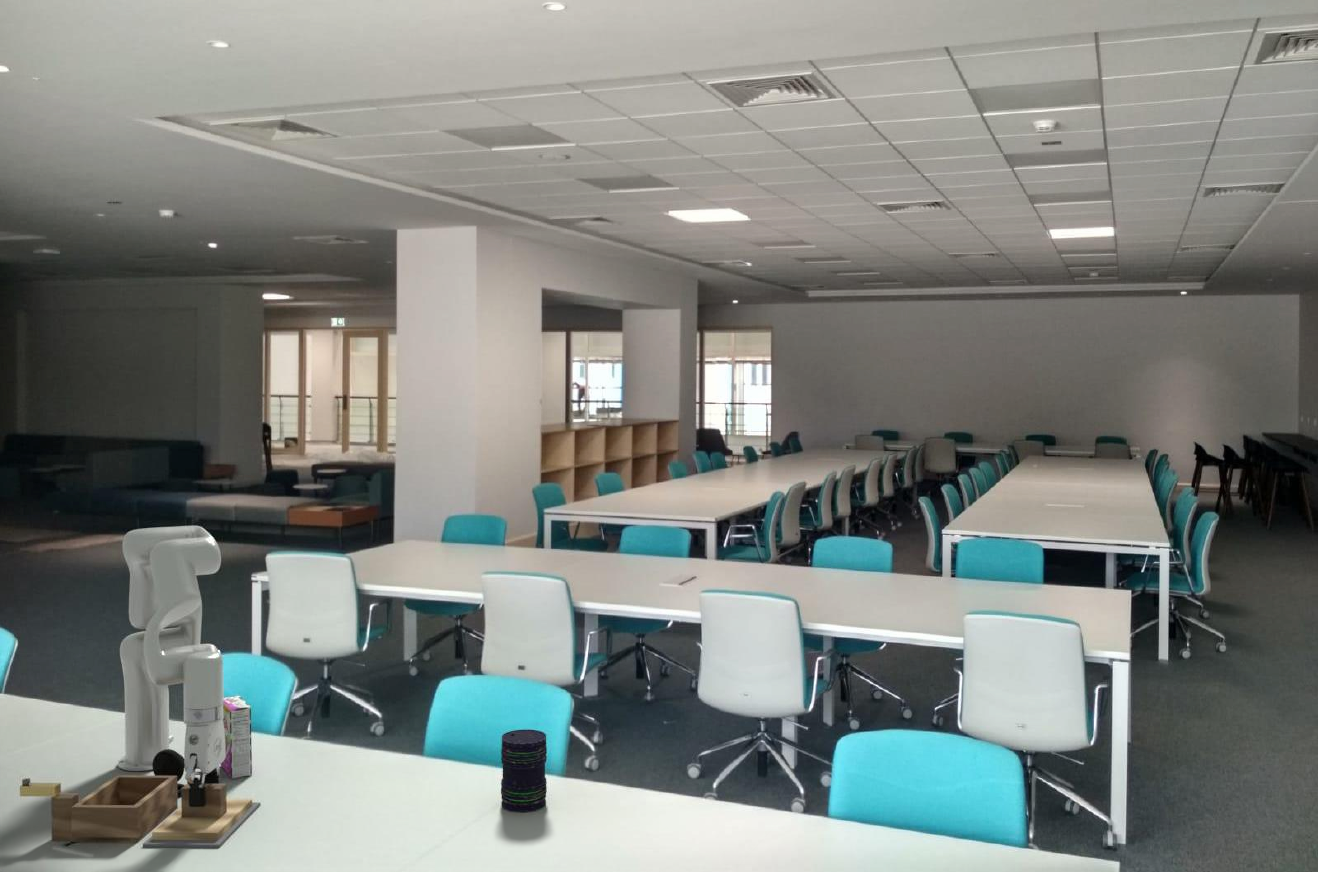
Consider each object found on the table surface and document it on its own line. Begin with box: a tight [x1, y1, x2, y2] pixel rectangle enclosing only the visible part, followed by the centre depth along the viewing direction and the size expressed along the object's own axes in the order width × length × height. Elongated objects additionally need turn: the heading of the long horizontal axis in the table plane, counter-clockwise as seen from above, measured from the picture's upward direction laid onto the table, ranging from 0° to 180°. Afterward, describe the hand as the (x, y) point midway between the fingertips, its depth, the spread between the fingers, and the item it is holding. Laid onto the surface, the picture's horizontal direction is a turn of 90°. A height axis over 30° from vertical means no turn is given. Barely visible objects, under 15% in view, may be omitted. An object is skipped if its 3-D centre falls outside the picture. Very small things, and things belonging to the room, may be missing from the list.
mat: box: [142, 801, 262, 849], centre depth 225 cm, size 22×15×1 cm
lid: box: [151, 782, 253, 840], centre depth 225 cm, size 18×13×8 cm
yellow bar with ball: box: [19, 777, 62, 798], centre depth 218 cm, size 2×7×3 cm, turn 90°
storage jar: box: [500, 729, 548, 814], centre depth 238 cm, size 10×10×15 cm
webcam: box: [152, 748, 186, 798], centre depth 242 cm, size 8×8×10 cm
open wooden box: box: [50, 774, 179, 844], centre depth 225 cm, size 18×17×8 cm
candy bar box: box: [220, 695, 253, 780], centre depth 257 cm, size 11×5×16 cm, turn 34°
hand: (204, 799), depth 225 cm, fingers open, 6 cm apart
